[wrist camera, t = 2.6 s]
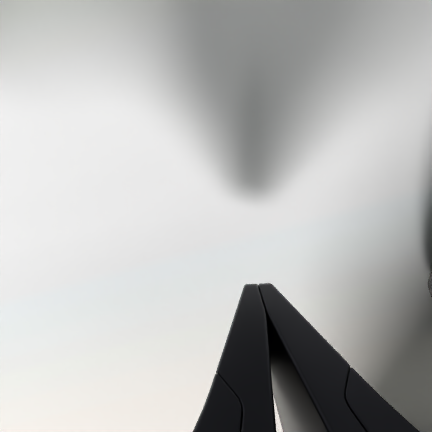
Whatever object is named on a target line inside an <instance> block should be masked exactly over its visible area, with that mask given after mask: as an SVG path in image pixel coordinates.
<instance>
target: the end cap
mask: <svg viewBox="0 0 432 432" xmlns="http://www.w3.org/2000/svg"><path fill="white" fill-rule="evenodd" d="M428 286H429V291H430V294H431V297H432V273H430V277H429V281H428Z"/></svg>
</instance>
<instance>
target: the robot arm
mask: <svg viewBox="0 0 432 432" xmlns="http://www.w3.org/2000/svg"><path fill="white" fill-rule="evenodd" d="M273 394H274V398H275V402H276V406H277V410H278V414H279V417H280V421H281V425H282V429H283V432H420V431H418V430H417V429H416V428H415V427H414V426H413V425H412V424H410V423H409V422H408V421H407V420H406V419H405V418H404V417H403V416H402V415H400V414H399V413H398V412H397V411H396V410H395V409H394V408H393V407H392V406H391V405H390V404H388V403H387V402H386V401H385V400H384V399H383V398H382V397H381V396H380V395H379V394H378V393H377V392H376V391H375V390H374V389H373V388H372V387H371V386H370V385H369V384H368V383H367V382H366V381H365V380H364V379H363V378H362V377H361V376H360V375H359V374H358V373H357V372H356V371H355V370H354V369H353V368H350V365H349V364H348V363H347V362H346V361H345V360H344V359H343V358H342V356H341V355H340V354H339V353H338V352H337V351H336V350H335V349H334V348H333V347H332V346H331V345H330V344H329V343H328V342H327V341H326V340H325V339H324V338H323V337H322V336H321V335H320V334H319V333H318V332H317V331H316V329H315V328H314V327H313V326H312V325H311V324H310V323H309V322H308V321H307V320H306V319H305V318H304V317H303V316H302V315H301V314H300V313H299V312H298V311H297V310H296V309H295V308H294V307H293V306H292V305H291V304H290V302H289V301H288V300H287V299H286V298H285V297H284V296H283V295H282V294H281V293H280V292H279V291H278V290H277V289H276V288H275V287H274V286H273V285H272V284H270V283H265V284H259V285H257V284H246V285H245V286H244V288H243V291H242V294H241V297H240V300H239V304H238V307H237V310H236V313H235V316H234V319H233V322H232V325H231V328H230V331H229V334H228V337H227V340H226V343H225V346H224V349H223V353H222V356H221V359H220V362H219V365H218V368H217V371H216V374H215V376H214V379H213V383H212V386H211V388H210V391H209V394H208V397H207V399H206V402H205V405H204V407H203V410H202V412H201V414H200V417H199V419H198V421H197V423H196V426H195V428H194V430H193V432H276V424H275V412H274V400H273Z"/></svg>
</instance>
